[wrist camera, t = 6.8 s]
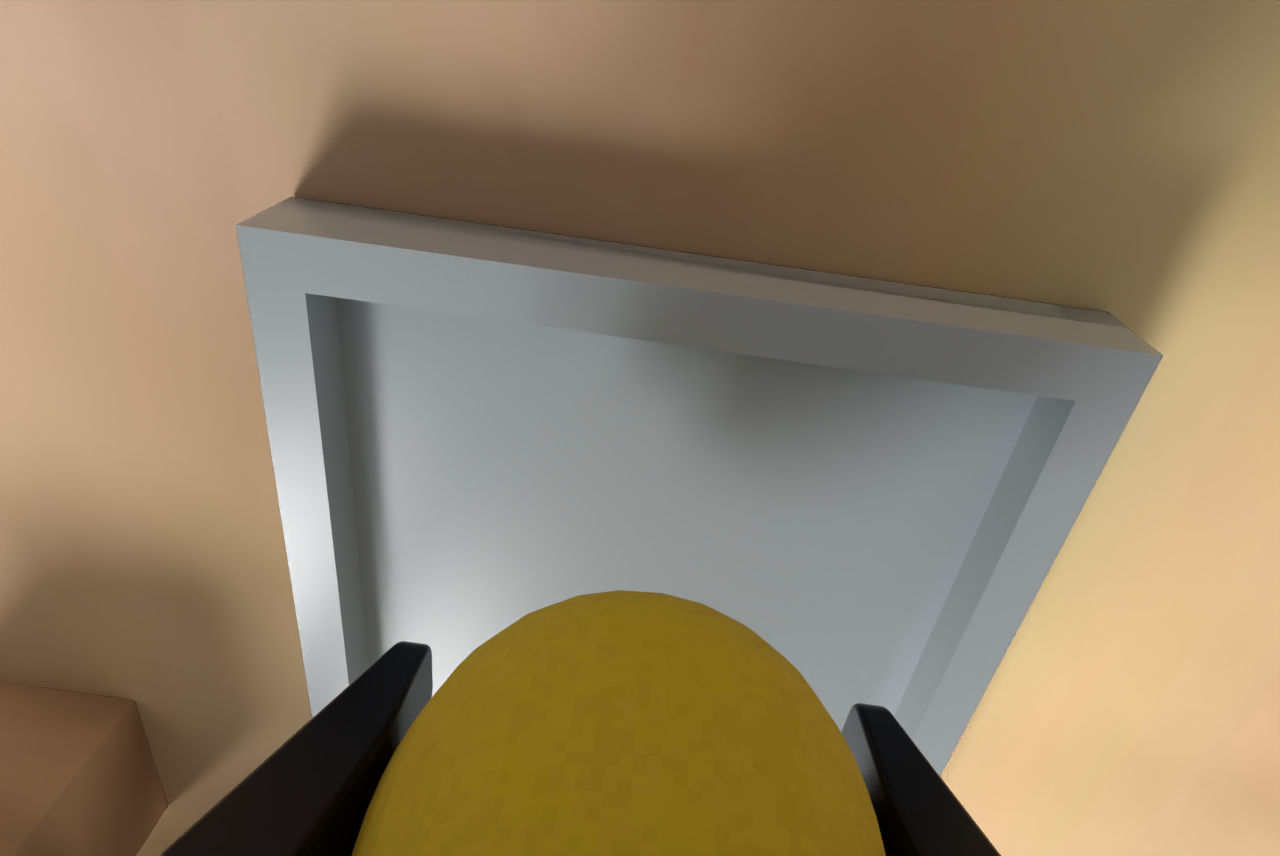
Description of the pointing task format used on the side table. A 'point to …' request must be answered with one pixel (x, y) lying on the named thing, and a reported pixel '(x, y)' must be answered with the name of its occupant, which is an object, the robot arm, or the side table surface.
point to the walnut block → (74, 774)
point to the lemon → (622, 745)
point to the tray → (669, 448)
